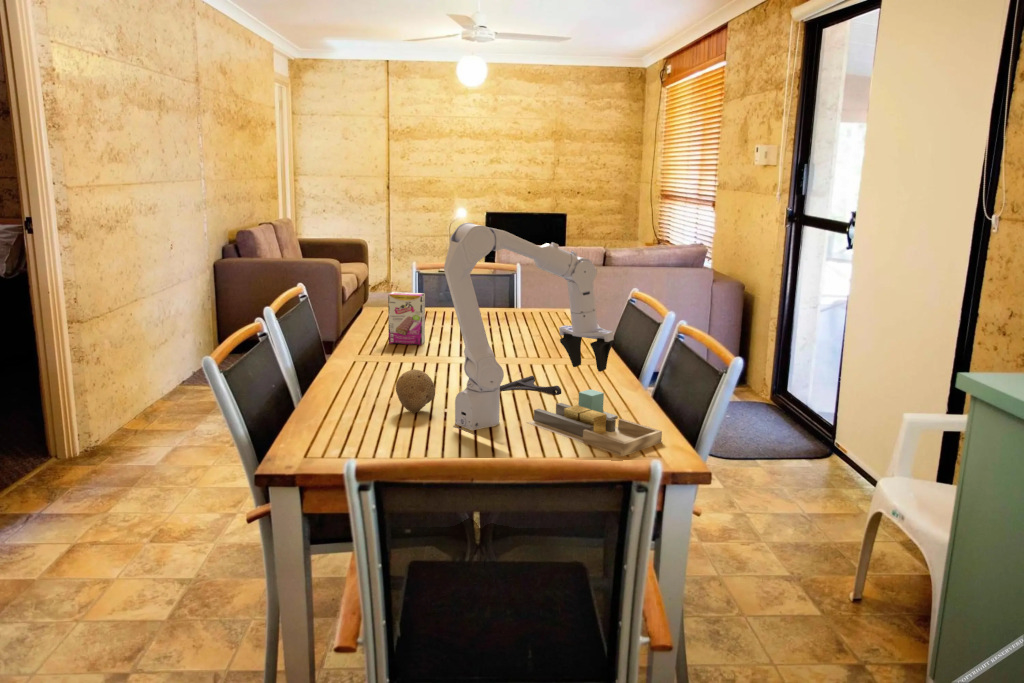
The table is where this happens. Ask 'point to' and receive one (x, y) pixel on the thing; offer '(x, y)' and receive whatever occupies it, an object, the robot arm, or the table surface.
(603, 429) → the yellow cube
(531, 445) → the table surface
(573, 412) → the golden brown cube
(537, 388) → the bracket
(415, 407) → the natural sponge
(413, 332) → the candy bar box
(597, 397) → the two-tone l-shaped block
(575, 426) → the slot board
